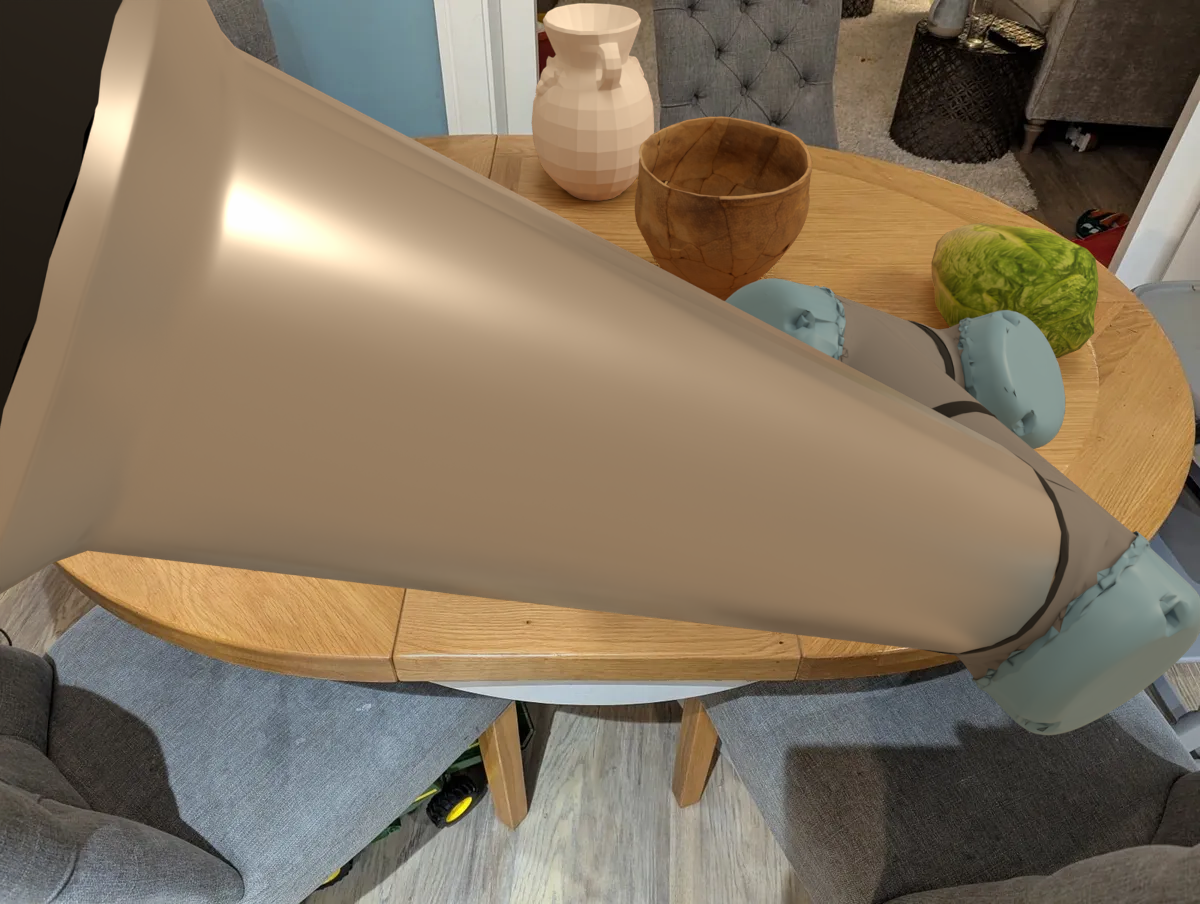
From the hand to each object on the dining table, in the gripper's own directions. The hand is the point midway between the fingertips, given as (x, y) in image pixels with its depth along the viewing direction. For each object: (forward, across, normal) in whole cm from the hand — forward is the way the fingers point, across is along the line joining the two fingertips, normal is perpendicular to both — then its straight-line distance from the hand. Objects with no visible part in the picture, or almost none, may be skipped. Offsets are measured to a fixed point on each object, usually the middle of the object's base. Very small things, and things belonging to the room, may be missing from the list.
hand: (600, 505), depth 70 cm
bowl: (+13, +42, +5) cm, 44 cm away
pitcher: (+35, +59, +27) cm, 74 cm away
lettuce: (-8, +58, -16) cm, 60 cm away
